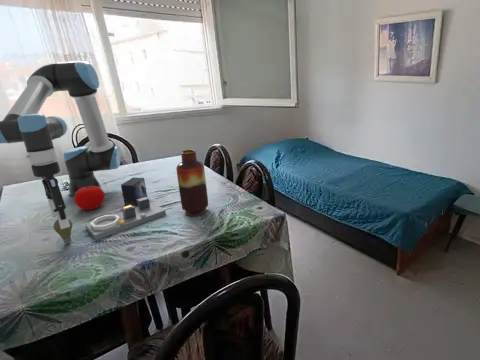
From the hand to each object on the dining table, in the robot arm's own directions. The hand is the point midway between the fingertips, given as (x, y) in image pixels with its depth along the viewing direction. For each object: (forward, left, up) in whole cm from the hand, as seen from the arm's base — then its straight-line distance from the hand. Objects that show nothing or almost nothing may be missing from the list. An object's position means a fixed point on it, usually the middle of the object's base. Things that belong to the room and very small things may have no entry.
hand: (61, 221), depth 104 cm
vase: (+13, +46, -9) cm, 49 cm away
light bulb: (0, 0, -9) cm, 9 cm away
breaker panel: (-1, +22, -9) cm, 24 cm away
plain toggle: (-4, +31, -7) cm, 32 cm away
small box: (-18, +33, -9) cm, 39 cm away
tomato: (-28, +16, -9) cm, 34 cm away
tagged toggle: (0, +23, -7) cm, 24 cm away
